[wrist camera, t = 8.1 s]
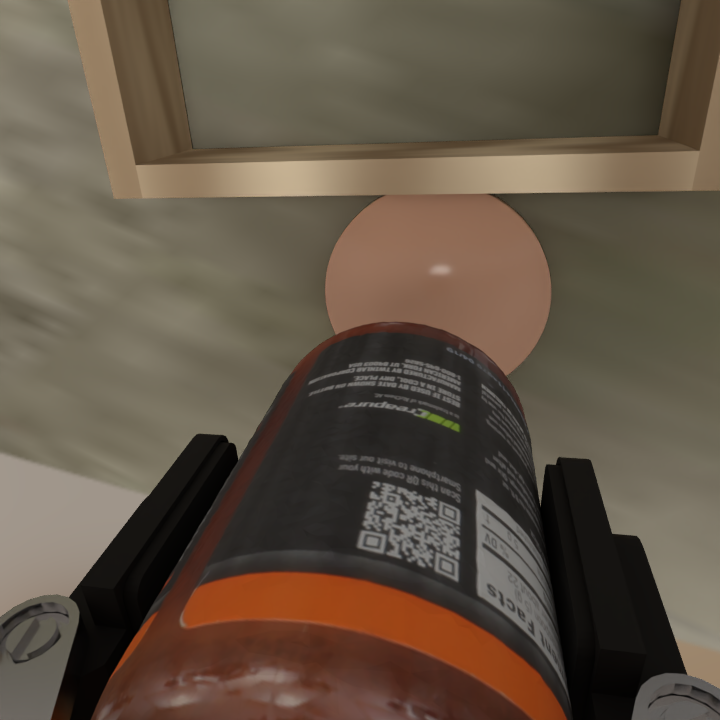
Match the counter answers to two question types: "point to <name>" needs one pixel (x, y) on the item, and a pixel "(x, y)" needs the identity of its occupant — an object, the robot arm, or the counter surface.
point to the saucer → (443, 272)
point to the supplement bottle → (364, 555)
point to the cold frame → (385, 160)
